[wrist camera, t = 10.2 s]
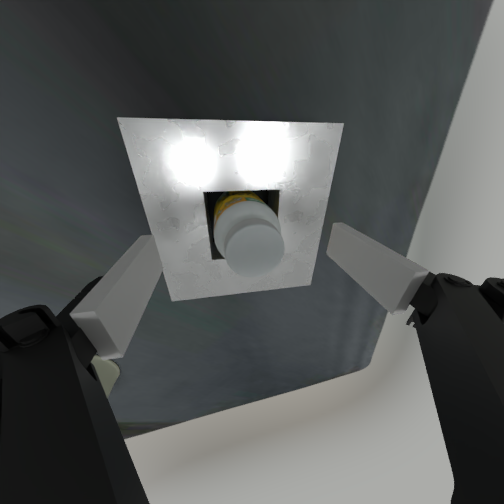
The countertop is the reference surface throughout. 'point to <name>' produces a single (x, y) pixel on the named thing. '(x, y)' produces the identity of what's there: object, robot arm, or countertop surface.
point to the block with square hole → (230, 179)
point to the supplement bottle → (247, 233)
